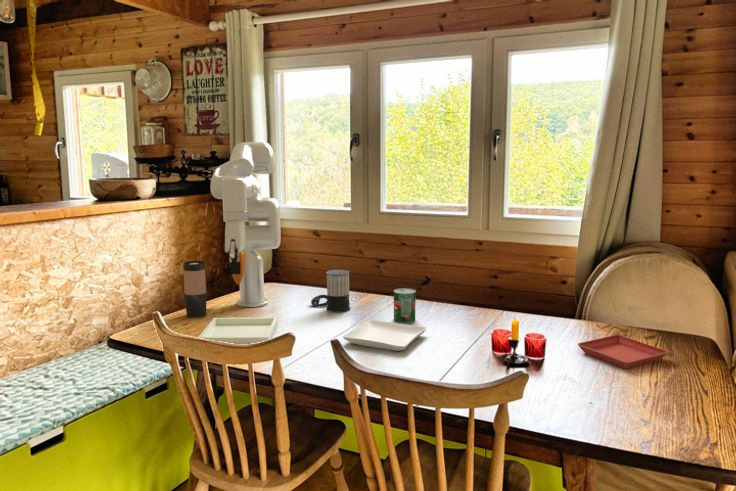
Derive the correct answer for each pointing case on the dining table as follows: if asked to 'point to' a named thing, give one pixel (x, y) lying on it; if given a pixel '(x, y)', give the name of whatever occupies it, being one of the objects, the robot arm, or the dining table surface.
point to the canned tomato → (404, 305)
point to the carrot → (238, 277)
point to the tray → (241, 329)
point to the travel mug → (195, 288)
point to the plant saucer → (622, 351)
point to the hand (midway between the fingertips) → (237, 271)
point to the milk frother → (335, 292)
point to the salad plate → (384, 335)
